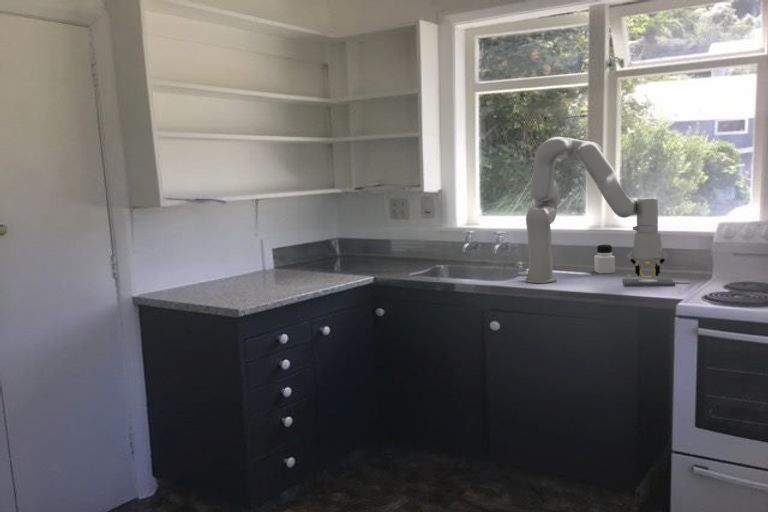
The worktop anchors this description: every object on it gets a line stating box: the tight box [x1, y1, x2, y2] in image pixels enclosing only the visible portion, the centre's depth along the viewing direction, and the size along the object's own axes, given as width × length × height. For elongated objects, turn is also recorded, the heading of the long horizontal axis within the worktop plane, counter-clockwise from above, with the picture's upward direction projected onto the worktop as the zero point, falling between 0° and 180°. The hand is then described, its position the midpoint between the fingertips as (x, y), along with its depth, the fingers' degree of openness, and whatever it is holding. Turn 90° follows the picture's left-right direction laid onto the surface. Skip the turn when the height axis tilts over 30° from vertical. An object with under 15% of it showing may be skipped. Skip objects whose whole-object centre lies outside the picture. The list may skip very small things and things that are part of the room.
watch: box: [639, 261, 656, 279], centre depth 264 cm, size 6×3×6 cm, turn 60°
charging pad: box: [622, 277, 692, 287], centre depth 264 cm, size 24×12×1 cm, turn 74°
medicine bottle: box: [593, 244, 616, 275], centre depth 297 cm, size 7×7×12 cm
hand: (647, 275), depth 264 cm, fingers closed on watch, 6 cm apart
